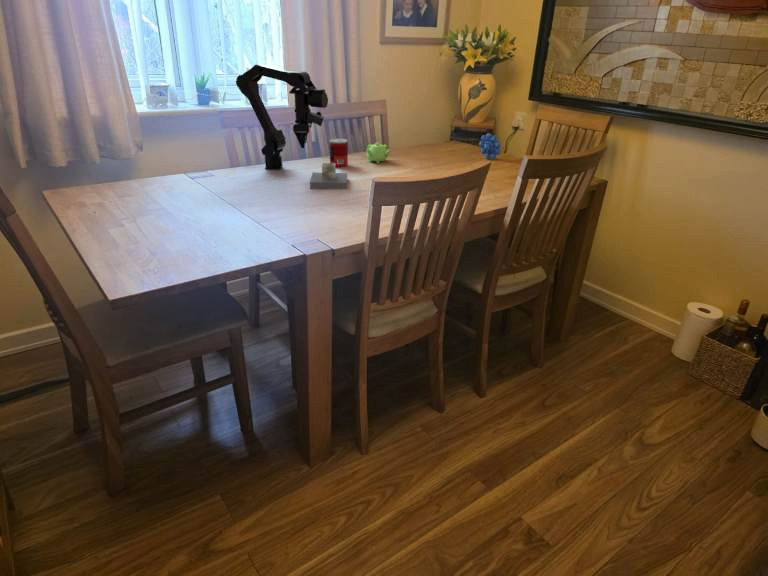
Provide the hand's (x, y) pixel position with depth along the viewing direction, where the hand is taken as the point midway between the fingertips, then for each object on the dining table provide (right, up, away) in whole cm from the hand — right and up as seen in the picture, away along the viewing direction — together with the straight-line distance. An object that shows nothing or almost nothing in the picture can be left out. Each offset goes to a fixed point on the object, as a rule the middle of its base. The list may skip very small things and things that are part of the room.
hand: (303, 145), depth 211 cm
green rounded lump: (+31, -1, +25) cm, 39 cm away
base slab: (+11, -18, -9) cm, 23 cm away
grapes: (+83, +3, +35) cm, 90 cm away
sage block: (+12, -15, -10) cm, 22 cm away
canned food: (+13, -4, +17) cm, 22 cm away
